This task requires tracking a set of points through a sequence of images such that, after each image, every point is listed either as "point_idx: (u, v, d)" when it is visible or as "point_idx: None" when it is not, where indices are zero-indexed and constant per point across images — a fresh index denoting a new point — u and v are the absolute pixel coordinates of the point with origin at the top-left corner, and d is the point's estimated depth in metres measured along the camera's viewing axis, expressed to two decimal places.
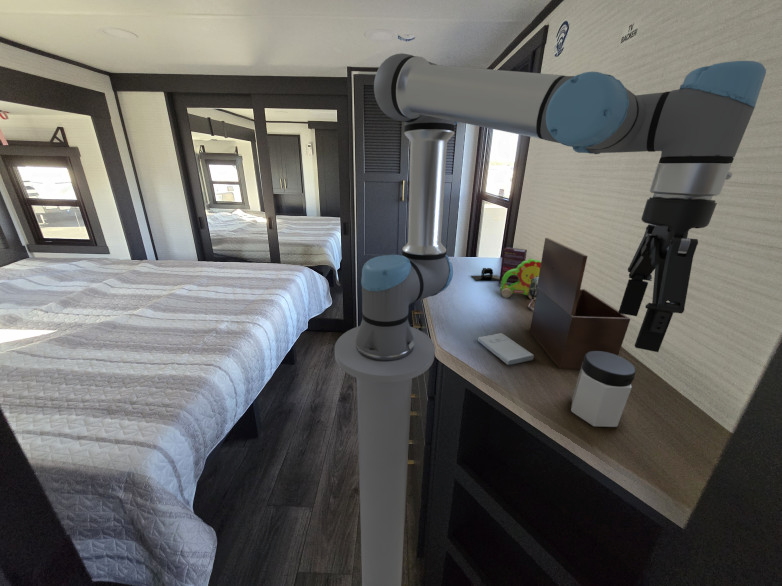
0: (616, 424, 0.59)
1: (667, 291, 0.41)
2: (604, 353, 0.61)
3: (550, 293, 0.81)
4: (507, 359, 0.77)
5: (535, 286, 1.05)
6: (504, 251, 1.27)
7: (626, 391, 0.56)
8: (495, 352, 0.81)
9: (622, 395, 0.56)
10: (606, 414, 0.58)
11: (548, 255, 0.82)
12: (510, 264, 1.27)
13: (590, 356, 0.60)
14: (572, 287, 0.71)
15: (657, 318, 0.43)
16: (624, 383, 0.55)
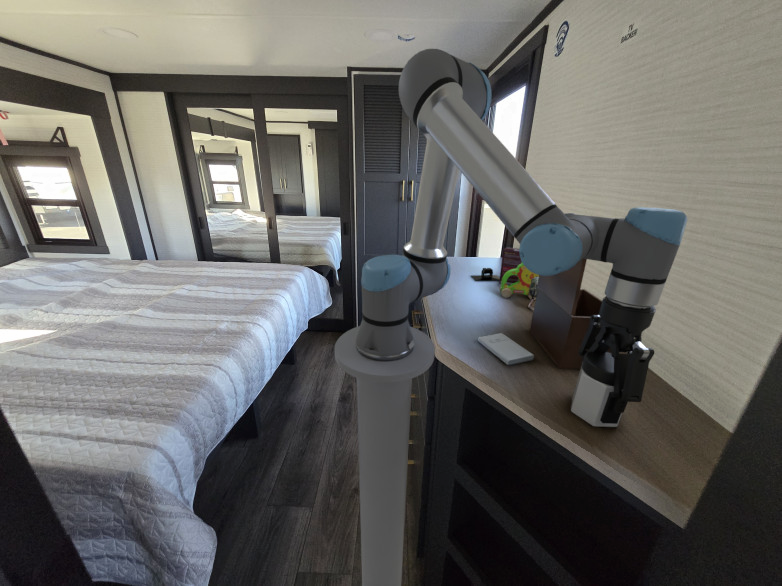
0: (616, 424, 0.59)
1: (631, 389, 0.52)
2: (604, 353, 0.61)
3: (550, 293, 0.81)
4: (507, 359, 0.77)
5: (535, 286, 1.05)
6: (504, 251, 1.27)
7: None
8: (495, 352, 0.81)
9: None
10: None
11: None
12: (510, 264, 1.27)
13: (590, 356, 0.60)
14: (572, 287, 0.71)
15: (619, 403, 0.55)
16: None
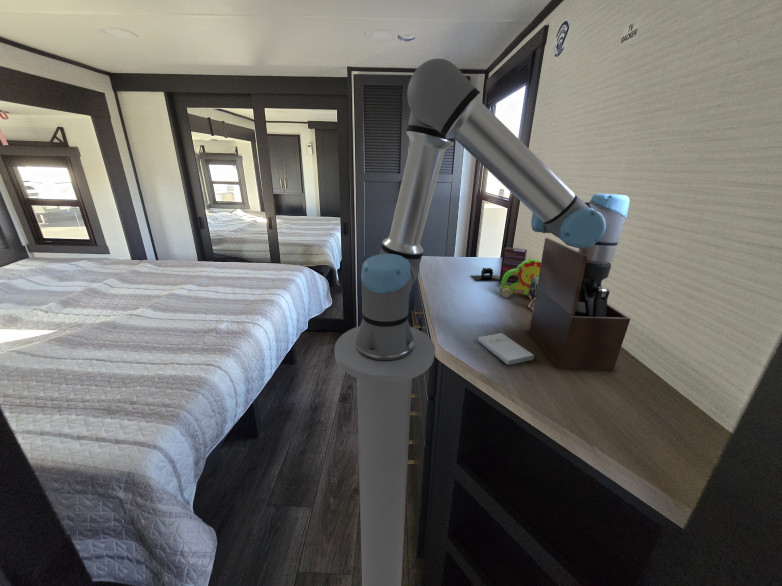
0: None
1: None
2: (579, 302, 0.84)
3: (550, 293, 0.81)
4: (507, 359, 0.77)
5: (535, 286, 1.05)
6: (504, 251, 1.27)
7: None
8: (495, 352, 0.81)
9: None
10: None
11: (548, 255, 0.82)
12: (510, 264, 1.27)
13: None
14: (572, 287, 0.71)
15: None
16: None
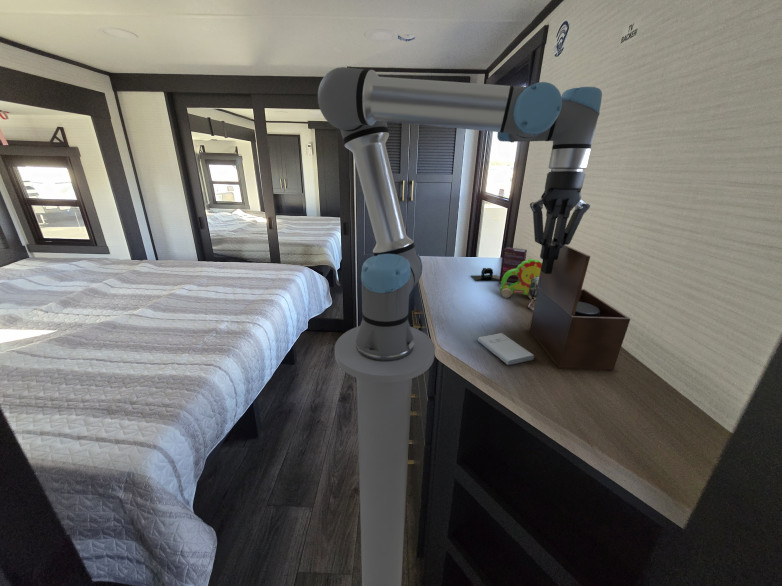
0: None
1: None
2: (579, 302, 0.84)
3: (551, 293, 0.81)
4: (507, 359, 0.77)
5: (535, 286, 1.05)
6: (504, 251, 1.27)
7: None
8: (495, 352, 0.81)
9: None
10: None
11: None
12: (510, 264, 1.27)
13: None
14: (574, 287, 0.71)
15: (559, 250, 0.75)
16: None
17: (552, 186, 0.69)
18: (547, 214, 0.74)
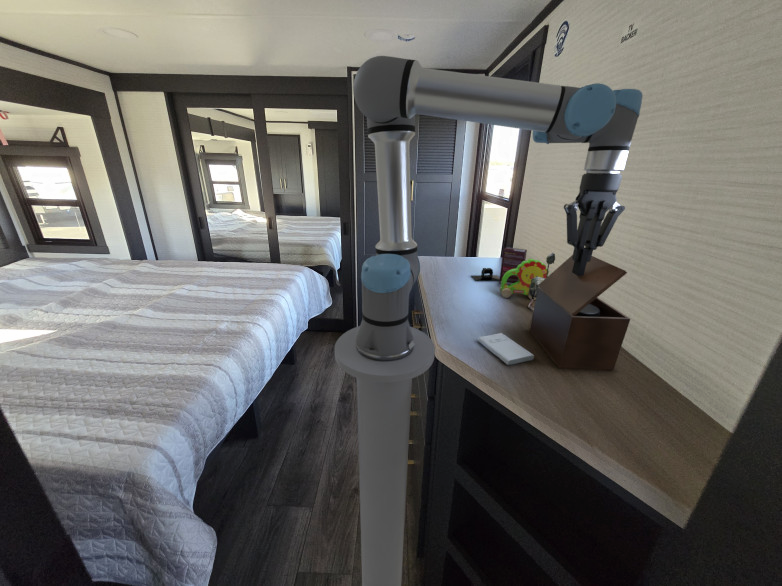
0: None
1: None
2: None
3: (554, 293, 0.81)
4: (507, 359, 0.77)
5: (535, 286, 1.05)
6: (504, 251, 1.27)
7: None
8: (495, 352, 0.81)
9: None
10: None
11: (572, 263, 0.83)
12: (510, 264, 1.27)
13: None
14: (590, 292, 0.71)
15: (591, 252, 0.75)
16: None
17: (588, 188, 0.69)
18: (581, 216, 0.74)
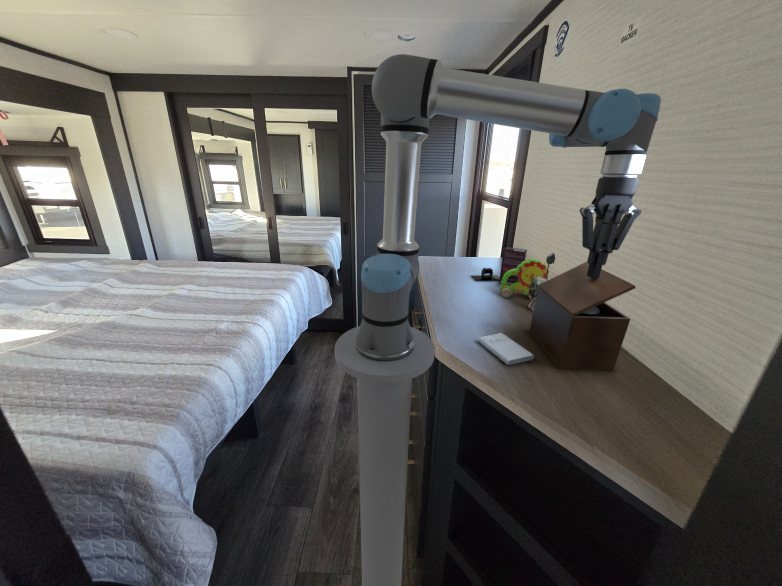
0: None
1: None
2: None
3: (555, 294, 0.81)
4: (507, 359, 0.77)
5: (535, 286, 1.05)
6: (504, 251, 1.27)
7: None
8: (495, 352, 0.81)
9: None
10: None
11: (579, 272, 0.84)
12: (510, 264, 1.27)
13: None
14: (595, 298, 0.71)
15: None
16: None
17: (605, 192, 0.69)
18: (596, 219, 0.74)
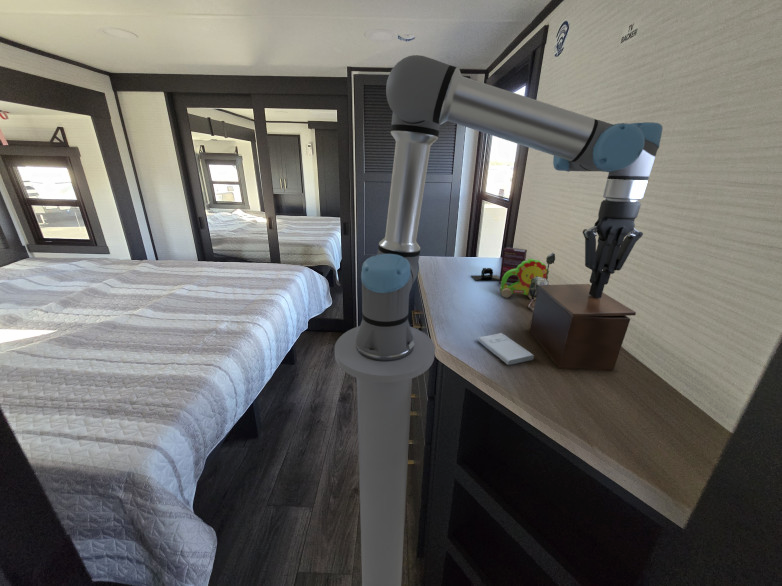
0: None
1: None
2: None
3: (556, 295, 0.81)
4: (507, 359, 0.77)
5: (535, 286, 1.05)
6: (504, 251, 1.27)
7: None
8: (495, 352, 0.81)
9: None
10: None
11: (581, 288, 0.85)
12: (510, 264, 1.27)
13: None
14: (597, 310, 0.72)
15: None
16: None
17: (608, 215, 0.71)
18: (599, 240, 0.76)
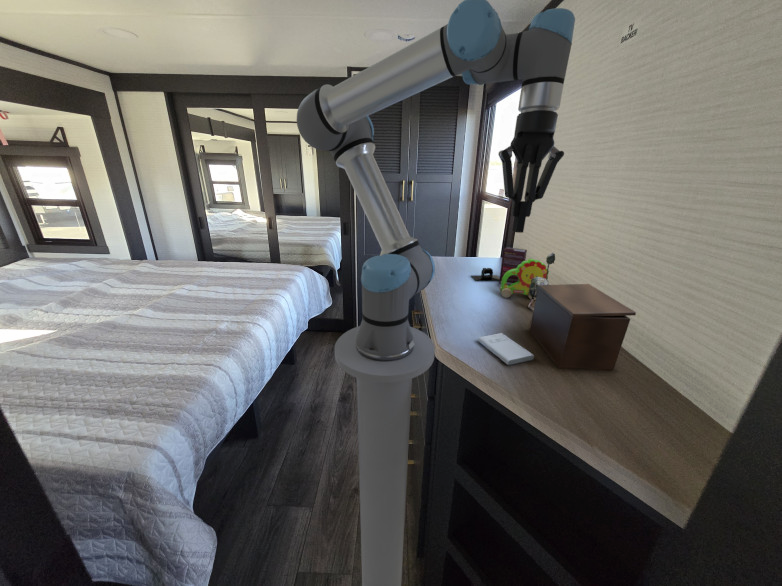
0: None
1: None
2: None
3: (556, 295, 0.81)
4: (507, 359, 0.77)
5: (535, 286, 1.05)
6: (504, 251, 1.27)
7: None
8: (495, 352, 0.81)
9: None
10: None
11: (581, 288, 0.85)
12: (510, 264, 1.27)
13: None
14: (597, 310, 0.72)
15: None
16: None
17: (521, 129, 0.61)
18: (518, 164, 0.66)
